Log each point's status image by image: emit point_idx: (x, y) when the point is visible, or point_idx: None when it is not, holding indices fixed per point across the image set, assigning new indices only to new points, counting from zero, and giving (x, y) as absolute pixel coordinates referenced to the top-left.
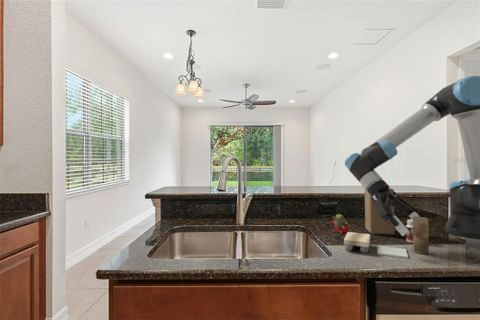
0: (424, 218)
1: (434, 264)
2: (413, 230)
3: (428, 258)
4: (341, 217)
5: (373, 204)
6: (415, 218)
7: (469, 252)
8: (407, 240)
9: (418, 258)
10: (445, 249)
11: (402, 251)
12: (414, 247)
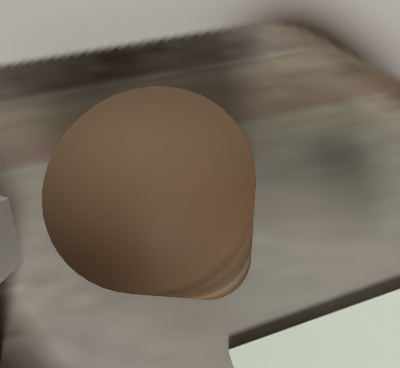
0: (144, 129)
1: (387, 145)
2: (216, 288)
3: (298, 194)
4: None
5: None
6: (243, 230)
7: (25, 80)
8: None
9: (348, 235)
10: (37, 169)
11: (316, 350)
12: (236, 285)
